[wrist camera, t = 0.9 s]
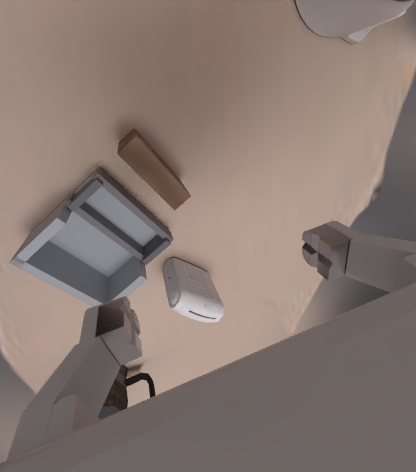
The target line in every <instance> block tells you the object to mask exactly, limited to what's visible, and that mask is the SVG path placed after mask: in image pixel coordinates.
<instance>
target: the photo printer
mask: <svg viewBox="0 0 416 472" xmlns="http://www.w3.org/2000/svg"><path fill="white" fill-rule="evenodd" d="M163 268H164V270H163V277H164V282H165V287H166V292H167V297H168V302H169V305H170V307H171V308H172V309H173V310H175V311H176V312H178V313H180V314H182V315H184V316H186V317H188V318H191V319H194V320H198V321H202V322H218V321H219V320H220V318H222V317H223V313H224V306H223V303H222V301H221V299H220V297H219V295H218V293H217V290H216V288H215V286H214V284H213V282H212V279H211V277H210V275H209V274H208V273H207V272H206V271H204V270H202V269H200V268H198V267H196V266H194V265H191V264H189V263H187V262H184V261H182V260H180V259H177V258H172V259H168V260H167V261H166V262H165V263H164V266H163Z"/></svg>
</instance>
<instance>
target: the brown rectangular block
mask: <svg viewBox="0 0 416 472" xmlns="http://www.w3.org/2000/svg"><path fill="white" fill-rule="evenodd" d="M118 155H119V156H120V157H121V158H122V159H123V160H124V161H125V162H126V163H127V164H128V165H129V166H130V167H131V168H132V169H134V170H135V171H136V172H137V173H138V174H139V175H140V176H141V177H142V178H143V179H144V180H145V181H146V182H147V183H148V184H149V185H150V186H151V187H152V188H153V189H154V190H155V191H156V192H157V193H158V194H159V195H160V196H161V197H162V198H163V199H164V200H165V201H166V202H167V203H168V204H169V205H170V206H171V207H172V208H173V209H174V210H176V209H177V208H178V207H179V206H180V205H181V204H183V203H184V202H185V201H186V200H187V199H188V198H189V197H191V195H190V194H189V192H188V191H187V189H186V188H185V187H184V185H183V184H182V182H181V181H180V179H179V178H178V177H177V176H176V175H175V174H174V173H173V171H172V170H171V169H170V168H169V167H168V166H167V165H166V164H165V163H164V161H163V160H162V159H161V158H160V157H159V156H158V155H157V154H156V152H155V151H154V150H153V149H152V148H151V147H150V146H149V145H148V144H147V142H146V141H145V140H144V139H143V138H142V137H141V136H140V135H139V133H138V132H137V131H136V130H135V129H133V130H132V131H131V132H130V133H129V134H128V135H127V136H126V137H125V138H124V139H123V140H122V141H121V142H120V143H119V147H118Z"/></svg>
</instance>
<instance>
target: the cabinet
mask: <svg viewBox="0 0 416 472" xmlns="http://www.w3.org/2000/svg"><path fill="white" fill-rule="evenodd" d="M172 241H173V237H172V235H171V232H170V231H169V229H167V228H166V227H165V226H164V225H163V224H162V223H161V222H160V221H159V220H157V219H156V218H155V217H154V216H153V215H152V214H151V213H150V212H149V211H148V210H146V209H145V208H144V207H143V206H142V205H141V204H140V203H139V202H138V201H137V200H135V199H134V198H133V197H132V196H131V195H130V194H129V193H128V192H127V191H126V190H124V189H123V188H122V187H121V186H120V185H119V184H118V183H117V182H116V181H114V180H113V179H112V178H111V177H110V176H109V175H108V174H107V173H106V172H105V171H103V170H102V169H101V168H100V167H99V168H98V169H97V170H96V171H95V172H94V173H93V174H92V175H91V176H90V177H89V178H88V179H86V180H85V181H84V182H83V183H82V184H81V185H80V186H79V187H78V188H77V189H76V190H75V191H74V192H73V193H72V194H71V195H70V196H69V197H68V198H67V199H65V200H64V201H63V202H62V203H61V204H60V205H59V206H58V207H57V208H56V209H55V210H54V211H53V212H52V213H51V214H50V215H49V216H48V217H47V218H45V219H44V220H43V221H42V222H41V223H40V224H39V225H38V226H37V227H36V228H35V229H34V230H33V231H32V232H31V233H30V234H29V235H28V237H27V238H26V240H25V241H24V243H23V244H22V245H21V247H20V248H19V250H18V251H17V252H16V254H15V255H14V257H13V258H12V260H11V261H10V262H9V263H10V264H12V265H14V266H16V267H18V268H20V269H22V270H24V271H26V272H28V273H30V274H32V275H33V276H35V277H37V278H39V279H41V280H43V281H45V282H47V283H49V284H51V285H53V286H55V287H57V288H59V289H61V290H63V291H64V292H66V293H68V294H70V295H72V296H74V297H76V298H78V299H80V300H82V301H84V302H86V303H88V304H90V305H92V306H97V305H100V304H103V303H106V302H109V301H112V300H115V299H118V298H121V297H124V296H126V297H127V296H128V295H129V294H130V293H131V292H132V291H134V290H135V289H136V288H137V287H138V286H139V285H141V284H142V283H143V282H144V281H145V280H147V278H146V270H145V264H146V265H147V264H148V263H149V262H150V261H152V260H153V259H154V258H155V257H156V256H157V255H159V254H160V253H161V252H162V251H163V250H164V249H166V248H167V247H168V246H169V245H170V244H171V243H170V242H172Z"/></svg>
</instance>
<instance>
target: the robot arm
mask: <svg viewBox="0 0 416 472" xmlns="http://www.w3.org/2000/svg"><path fill="white" fill-rule="evenodd" d="M414 1H415V0H296V4H297V7H298V10H299V13H300V15H301V17H302V19H303V20H304V22H305V23H306V25H307V26H308V27H309V28H310V29H311V30H312V31H313V32H315V33H316V34H318V35H321V36H324V37H341V38H343V39H344V40H346V41H347V42H349V43H351V44H355V43H358V42H360V41H362V40H363V39H364V38H365V36H366V35H367V34H368V33H369V32H370V30H371V29H372V28H373V27H375V26H378V25H380V24H383V23H385V22H388V21H391V20H393V19H396V18H398V17H400V16H402V15H403V14H404V13H405V12H406V9H407V8H409V7H410V6H411V4H412V3H413V2H414ZM302 240H303V241H304V242H305V244H304V245H303V247H302V254H303V257H304V259H305V260H306V262H307V263H308V264H309V265H310V266H313V267H317V271H318V273H320V274H321V275H322V276H323V277H324V278H325V279H327V280H331V279H334V278H337V277H339V276H342V275H346V276H348V277H351V278H354V279H356V280H359V281H362V282H364V283H367V284H370V285H373V286H375V287H378V288H381V289H383V290H386V291H389V292H392V293H390V294H388V295H385V296H383V297H381V298H378V299H376V300H374V301H371V302H369V303H367V304H365V305H362V306H360V307H358V308H355V309H353V310H351V311H349V312H346V313H344V314H342V315H339V316H337V317H335V318H333V319H330V320H328V321H326V322H323V323H321V324H319V325H317V326H314V327H312V328H310V329H308V330H306V331H303V332H301V333H298V334H296V335H294V336H291V337H289V338H287V339H284V340H282V341H280V342H278V343H276V344H273V345H271V346H268V347H266V348H264V349H262V350H260V351H257V352H255V353H252V354H250V355H248V356H246V357H243V358H241V359H239V360H236V361H234V362H232V363H230V364H227V365H225V366H223V367H220V368H218V369H216V370H213V371H211V372H209V373H206V374H204V375H202V376H200V377H197V378H195V379H193V380H191V381H188V382H186V383H184V384H181V385H179V386H177V387H174V388H172V389H170V390H168V391H165V392H163V393H161V394H158V395H156V396H154V397H151V398H149V399H147V400H145V401H142V402H140V403H138V404H136V405H133V406H131V407H129V408H126V409H124V410H122V411H119V412H117V413H115V414H113V415H110V416H108V417H106V418H103V419H101V420H100V419H99V418H98V415H99V413H100V410H101V408H102V406H103V404H104V402H105V400H106V397H107V395H108V393H109V391H110V389H111V387H112V384H113V382H114V380H115V378H116V376H117V373H118V371H119V369H120V365H123V364H125V363H127V362H130V361H132V360H134V359H137V358H139V357H141V356H142V350H141V341H140V339H139V337H138V335H139V333H140V326H139V322H138V318H137V316H136V313H135V311H134V310H132V309H130V302H129V300H128V298H127V297H126V296H124V297H121V298H118V299H115V300H112V301H109V302H106V303H103V304H100V305H97V306H94V307H91V308H89V309H87V310H86V311H85V315H84V320H83V326H82V331H81V337H80V342H79V344H77V345H75V346H74V348H73V349H72V350H71V351H70V353H69V354H68V355H67V356H66V358H65V359H64V360H63V362H62V363H61V364H60V365H59V367H58V368H57V369H56V370H55V372H54V373H53V374H52V376H51V377H50V378H49V379H48V381H47V382H46V383H45V384H44V386H43V387H42V388H41V390H40V391H39V392H38V393H37V395H36V396H35V397H34V399H33V400H32V401H31V402H30V404H29V405H28V406H27V407H26V409H25V410H24V411H23V412H22V414H21V417H20V420H19V423H18V426H17V429H16V433H15V436H14V439H13V442H12V445H11V448H10V451H9V454H8V457H7V460H6V461H5V462H3V463H0V472H416V242H412V241H405V240H399V239H392V238H386V237H379V236H372V235H364V236H363V235H361V234H359V233H358V232H356V231H354V230H352V229H350V228H348V227H347V226H345V225H343V224H341V223H339V222H337V221H331V222H328V223H325V224H323V225H321V226H318V227H315V228H313V229H310V230H307V231H304V233H303V236H302Z"/></svg>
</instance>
